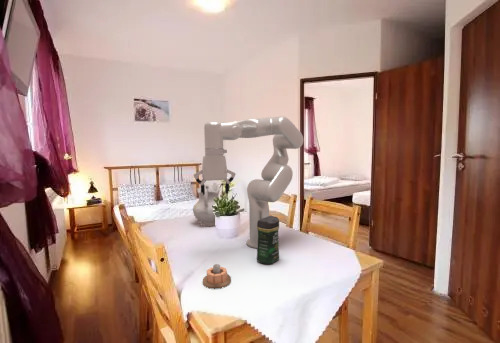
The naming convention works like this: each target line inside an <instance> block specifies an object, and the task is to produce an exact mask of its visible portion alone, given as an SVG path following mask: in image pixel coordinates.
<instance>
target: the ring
mask: <svg viewBox="0 0 500 343" xmlns="http://www.w3.org/2000/svg"><path fill="white" fill-rule="evenodd" d="M227 274H228V271H227V268H226V267H223V266H220V274H213V266H212V267H210V268H208V269H207V270H206V275H207V282H209V283H212V284H214V283H215V284H220V283H223V282H225V281H226V280H227Z"/></svg>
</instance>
